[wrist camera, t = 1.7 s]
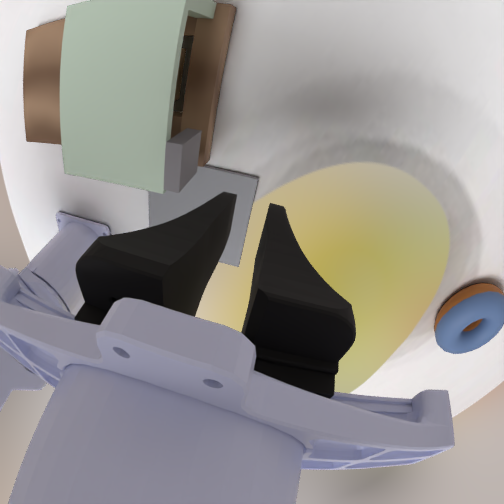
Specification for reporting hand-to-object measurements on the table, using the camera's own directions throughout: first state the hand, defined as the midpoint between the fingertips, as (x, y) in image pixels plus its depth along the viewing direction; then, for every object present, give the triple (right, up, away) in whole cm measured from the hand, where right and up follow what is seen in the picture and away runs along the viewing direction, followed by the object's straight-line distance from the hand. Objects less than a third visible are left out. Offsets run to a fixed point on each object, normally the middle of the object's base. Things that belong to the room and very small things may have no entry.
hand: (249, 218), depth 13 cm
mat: (-5, +2, +12) cm, 13 cm away
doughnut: (+25, -8, +13) cm, 30 cm away
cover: (-7, +10, +4) cm, 13 cm away
